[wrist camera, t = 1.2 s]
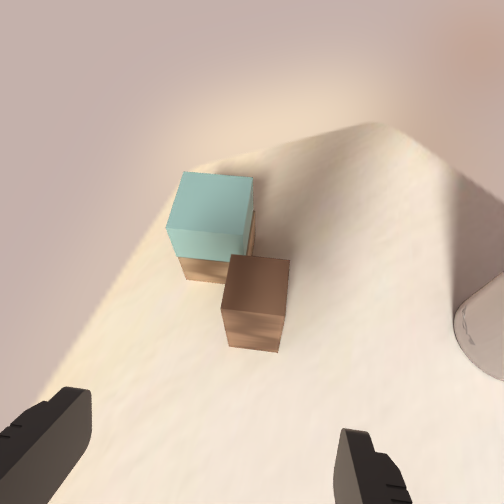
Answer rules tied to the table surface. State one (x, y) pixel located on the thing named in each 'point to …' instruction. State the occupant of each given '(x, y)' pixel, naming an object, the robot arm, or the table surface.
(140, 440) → the table surface
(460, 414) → the table surface
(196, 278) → the tower base
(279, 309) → the post
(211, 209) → the tower top
